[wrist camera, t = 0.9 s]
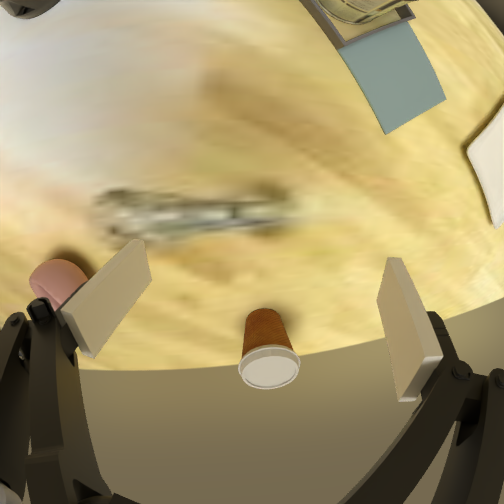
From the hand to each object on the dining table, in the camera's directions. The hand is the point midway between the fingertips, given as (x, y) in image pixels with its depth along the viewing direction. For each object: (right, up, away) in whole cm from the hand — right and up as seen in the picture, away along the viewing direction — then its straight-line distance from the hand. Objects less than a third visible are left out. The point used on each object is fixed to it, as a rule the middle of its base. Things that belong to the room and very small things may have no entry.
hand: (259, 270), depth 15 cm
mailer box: (+17, +31, +14) cm, 38 cm away
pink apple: (-32, -3, +29) cm, 44 cm away
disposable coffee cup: (+2, -11, +36) cm, 38 cm away
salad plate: (+49, +20, +23) cm, 57 cm away
